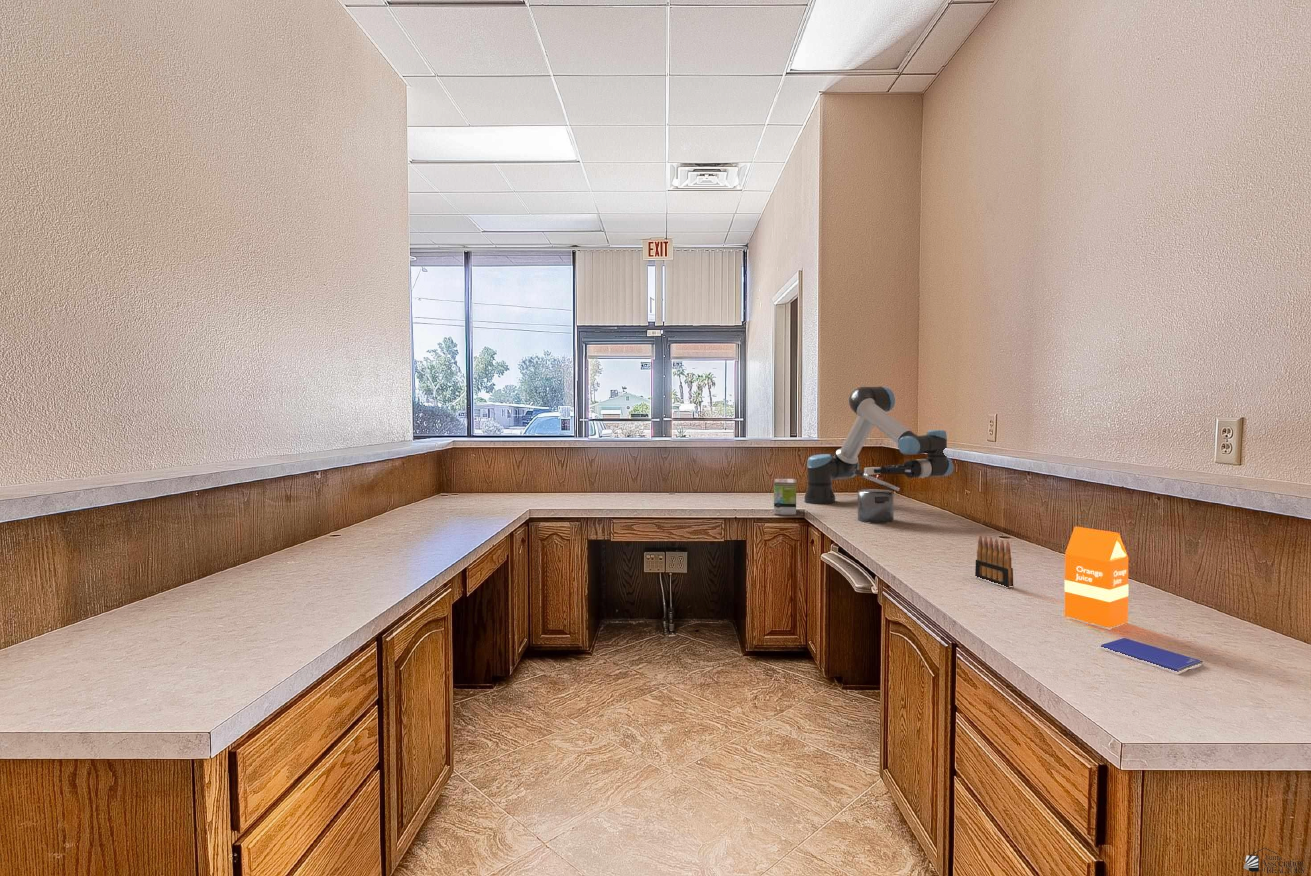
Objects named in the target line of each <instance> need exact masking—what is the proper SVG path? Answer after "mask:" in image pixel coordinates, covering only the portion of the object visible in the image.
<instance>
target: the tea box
mask: <svg viewBox="0 0 1311 876" xmlns="http://www.w3.org/2000/svg"><path fill="white" fill-rule="evenodd" d="M773 481H774V482H773V514H774V515H783V516H785V515H788V516H789V515H790V516H792V515H797V481H796V478H774V480H773Z"/></svg>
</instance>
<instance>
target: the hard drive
mask: <svg viewBox="0 0 1311 876" xmlns="http://www.w3.org/2000/svg"><path fill="white" fill-rule="evenodd" d="M1100 646H1101V647H1104V648H1108V649H1110V650H1113V651H1115V652H1120V653H1122V654H1125V655H1128V656H1131V657H1134V658H1137V659H1139V660H1144V661H1147V662H1150V663H1153V664H1156V665H1159V666H1161V667H1164V668H1168V669H1171V670H1174V671H1177V672H1179V671H1182V670H1184V669H1186V668H1190V667H1192V666H1195V665H1198V664H1202V663H1203V664H1204V661H1203V660H1201V659H1197V658H1193V657H1191V656H1187V655H1184V654H1180V653H1177V652H1173V651H1170V650H1167V649H1163V648H1160V647H1156V646H1153V645H1150V644H1147V643H1144V642H1140V641H1137V640H1133V639H1129V638H1127V637H1122V638H1119V639H1116V640H1112V641H1110V642H1106V643H1103V644H1101V645H1100Z"/></svg>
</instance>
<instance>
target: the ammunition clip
mask: <svg viewBox="0 0 1311 876" xmlns="http://www.w3.org/2000/svg"><path fill="white" fill-rule="evenodd" d="M1011 553H1012V552H1011V545H1010V543H1009V541H1006V543H1004V540H1003V539H1001V540H1000V543H999V540H998V539H997V538H995V539H994V541H993V538H992V537H990V538H989V540H988V538H987V536H986V535H985V536H984V538H982V535H981V534H979V536H978V538H977V548H976V559H975V569H974V570H975V572H974V573H975V574H974V577H975V576H977V577H980V578H982V579H986V580H989V581H991V582H994V583H998V584H1001V585H1004V586H1006V587H1009V586H1013V587H1014V568H1013V567H1012V556H1011V555H1012V554H1011Z"/></svg>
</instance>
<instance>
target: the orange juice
mask: <svg viewBox="0 0 1311 876" xmlns="http://www.w3.org/2000/svg"><path fill="white" fill-rule="evenodd" d="M1064 552H1065V553H1064V617H1065V616H1068V617H1071V618H1075V619H1079V620H1083V621H1085V622H1088V623H1094V624H1097V625H1101V626H1104V627H1109V628H1110V627H1114V626H1117V625H1119V624H1122V623H1126V622H1128V623H1129V621H1128V619H1129V616H1128V615H1129V556H1128V554H1127V551H1126V549H1125V545H1124V543H1123V540H1122V538H1121V535H1120V533H1119V532H1115V531H1109V530H1102V529H1095V528H1090V527H1089V528H1088V527H1082V526H1074V528H1073V531H1072V533H1071V536H1070V539H1069V541H1068V544H1067V547H1066V550H1065V551H1064Z"/></svg>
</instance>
